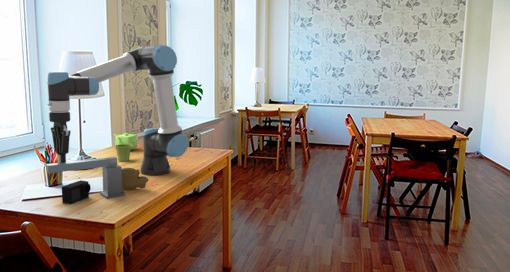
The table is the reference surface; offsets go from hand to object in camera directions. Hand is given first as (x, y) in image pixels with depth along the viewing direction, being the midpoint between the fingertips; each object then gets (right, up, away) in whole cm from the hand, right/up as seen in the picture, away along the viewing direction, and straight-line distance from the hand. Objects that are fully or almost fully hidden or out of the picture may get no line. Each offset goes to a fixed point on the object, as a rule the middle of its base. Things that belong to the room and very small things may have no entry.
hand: (62, 169), depth 171 cm
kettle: (-6, +4, +104) cm, 105 cm away
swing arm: (+8, +1, +2) cm, 8 cm away
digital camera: (+5, -13, +2) cm, 14 cm away
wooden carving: (+21, -10, +19) cm, 31 cm away
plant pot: (+2, -1, +75) cm, 75 cm away
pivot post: (+17, -11, +11) cm, 23 cm away
